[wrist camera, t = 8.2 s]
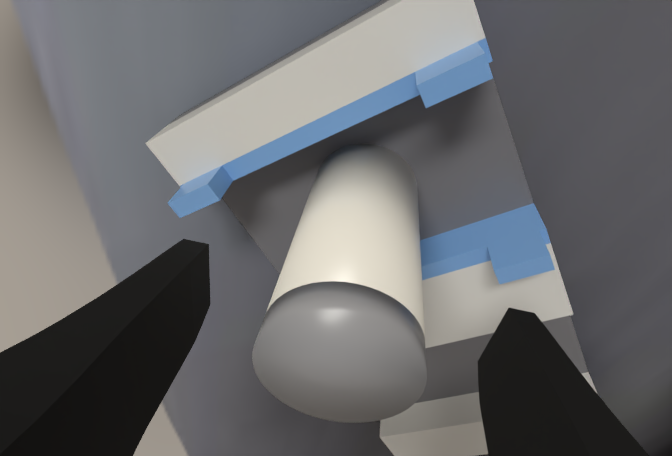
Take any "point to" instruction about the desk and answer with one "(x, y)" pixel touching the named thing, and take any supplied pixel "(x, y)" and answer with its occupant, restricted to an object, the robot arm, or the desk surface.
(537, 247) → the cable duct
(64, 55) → the desk surface
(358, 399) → the cream round-ended cylinder
